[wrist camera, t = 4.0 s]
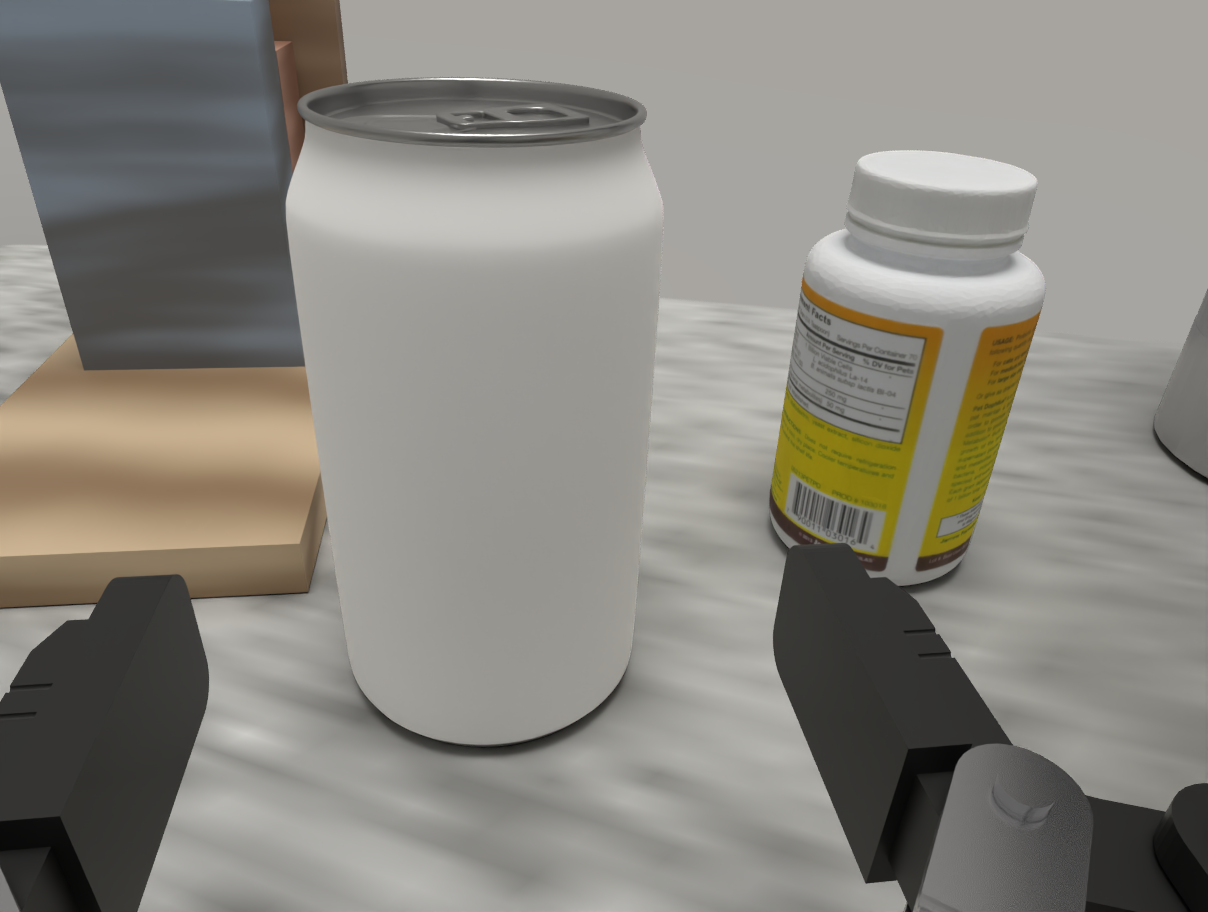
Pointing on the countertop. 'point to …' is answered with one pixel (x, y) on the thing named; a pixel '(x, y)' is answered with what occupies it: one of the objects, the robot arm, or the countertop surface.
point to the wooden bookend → (164, 297)
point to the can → (480, 389)
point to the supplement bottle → (907, 362)
